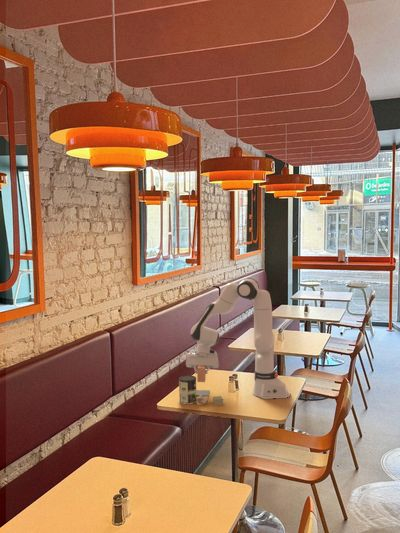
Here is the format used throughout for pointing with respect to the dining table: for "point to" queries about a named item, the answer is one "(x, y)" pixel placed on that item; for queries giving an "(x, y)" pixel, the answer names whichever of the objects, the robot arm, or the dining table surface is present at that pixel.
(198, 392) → the pad
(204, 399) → the mottled white pinkish lump
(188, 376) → the coffee can
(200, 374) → the pillar
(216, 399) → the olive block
